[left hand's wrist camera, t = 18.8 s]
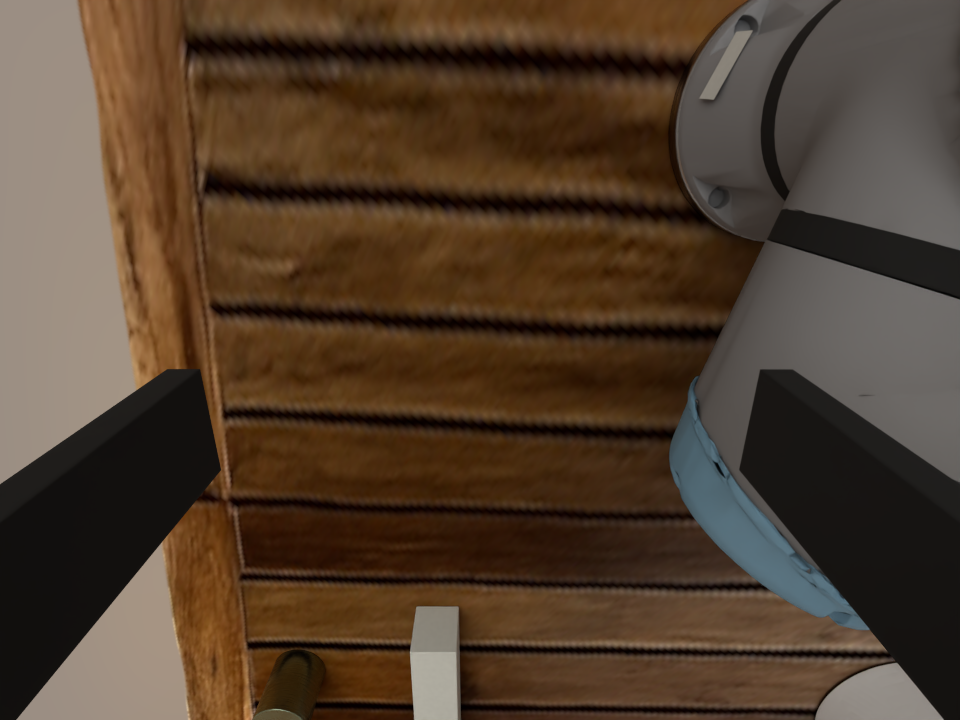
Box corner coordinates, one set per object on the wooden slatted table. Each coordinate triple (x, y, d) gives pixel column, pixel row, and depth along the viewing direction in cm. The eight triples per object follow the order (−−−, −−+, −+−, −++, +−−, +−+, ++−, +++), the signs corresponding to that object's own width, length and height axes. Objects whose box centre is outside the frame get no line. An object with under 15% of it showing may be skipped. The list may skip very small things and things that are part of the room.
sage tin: (322, 649, 52) (303, 709, 46) (327, 685, 54) (310, 747, 48) (271, 649, 52) (246, 709, 46) (278, 685, 54) (255, 747, 48)
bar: (458, 606, 50) (456, 652, 45) (461, 770, 59) (460, 823, 54) (416, 606, 50) (409, 652, 45) (425, 770, 59) (421, 823, 54)
